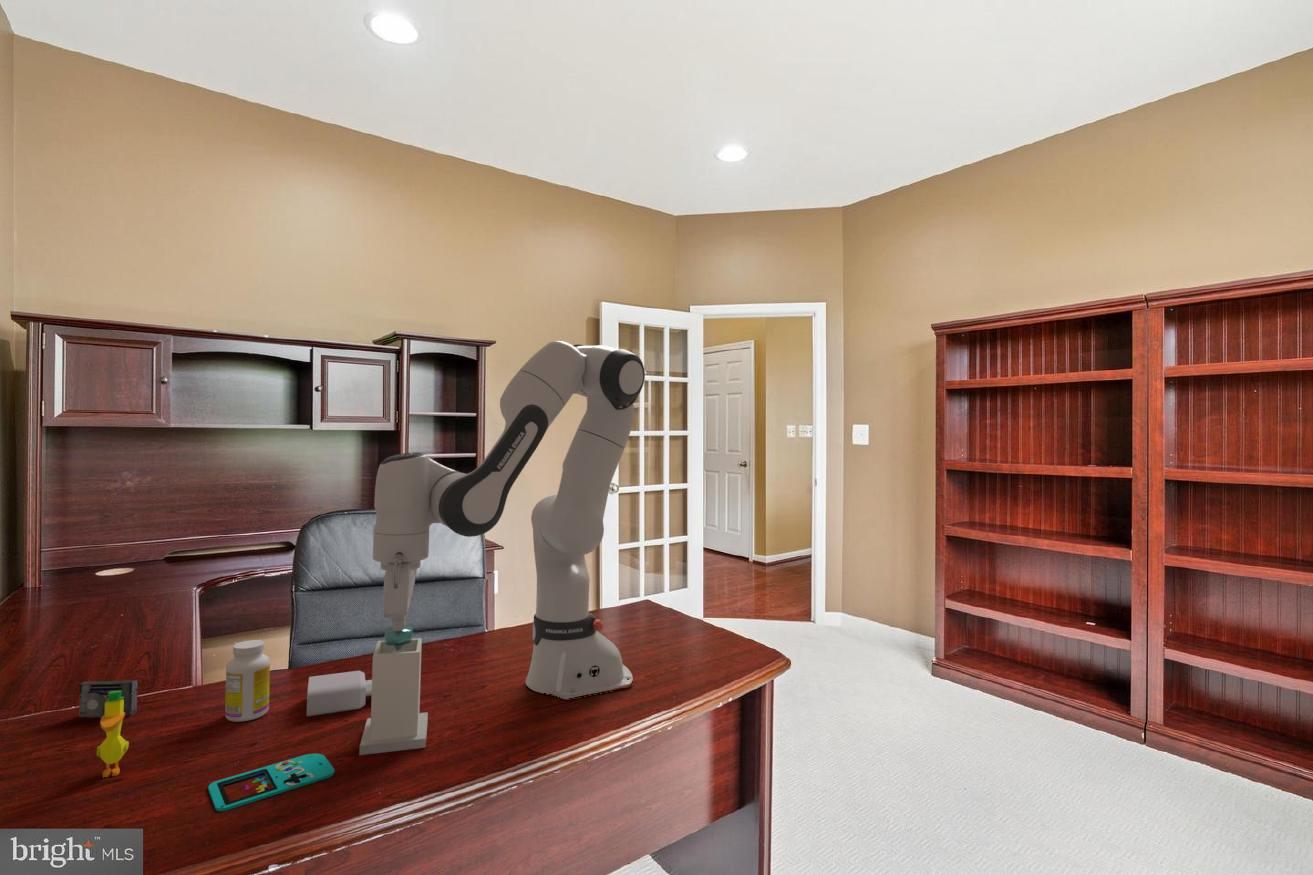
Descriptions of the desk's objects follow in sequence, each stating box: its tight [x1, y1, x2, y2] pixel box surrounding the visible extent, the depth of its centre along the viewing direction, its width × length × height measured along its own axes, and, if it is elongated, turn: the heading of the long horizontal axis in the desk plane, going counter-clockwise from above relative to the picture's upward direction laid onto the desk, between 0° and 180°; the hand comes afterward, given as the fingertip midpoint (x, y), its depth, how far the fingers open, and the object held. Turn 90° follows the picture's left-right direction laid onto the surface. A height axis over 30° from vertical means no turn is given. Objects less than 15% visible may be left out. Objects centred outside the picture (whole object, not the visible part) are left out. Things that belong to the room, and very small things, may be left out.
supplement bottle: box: [224, 639, 271, 723], centre depth 113 cm, size 7×7×13 cm
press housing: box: [358, 637, 429, 756], centre depth 107 cm, size 10×10×16 cm
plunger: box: [384, 625, 414, 653], centre depth 107 cm, size 5×5×12 cm
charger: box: [306, 670, 372, 717], centre depth 121 cm, size 5×9×15 cm
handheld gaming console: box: [208, 753, 335, 812], centre depth 93 cm, size 8×1×15 cm
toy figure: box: [96, 690, 130, 779], centre depth 93 cm, size 7×4×12 cm, turn 32°
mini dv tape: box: [78, 679, 138, 718], centre depth 112 cm, size 8×2×6 cm, turn 99°
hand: (398, 628), depth 107 cm, fingers closed
